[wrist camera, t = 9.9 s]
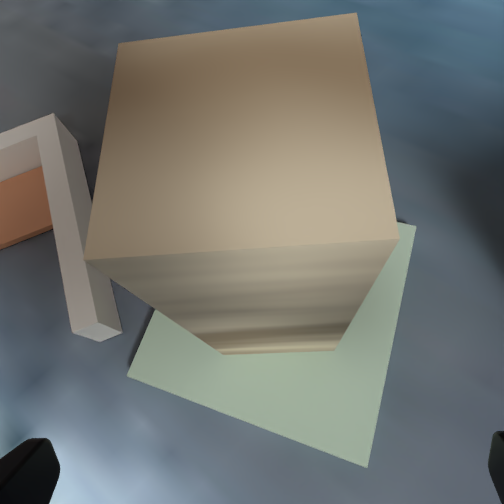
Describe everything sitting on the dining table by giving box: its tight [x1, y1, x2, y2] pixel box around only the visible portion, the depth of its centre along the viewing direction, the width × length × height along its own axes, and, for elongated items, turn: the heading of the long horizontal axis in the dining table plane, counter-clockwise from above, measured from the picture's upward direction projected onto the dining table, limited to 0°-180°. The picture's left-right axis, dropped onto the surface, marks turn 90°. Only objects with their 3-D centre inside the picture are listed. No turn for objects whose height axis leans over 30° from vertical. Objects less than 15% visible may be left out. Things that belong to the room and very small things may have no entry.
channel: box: [0, 113, 123, 342], centre depth 20 cm, size 13×8×2 cm, turn 21°
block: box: [83, 13, 400, 355], centre depth 12 cm, size 5×5×12 cm
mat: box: [127, 222, 416, 468], centre depth 18 cm, size 11×11×1 cm
